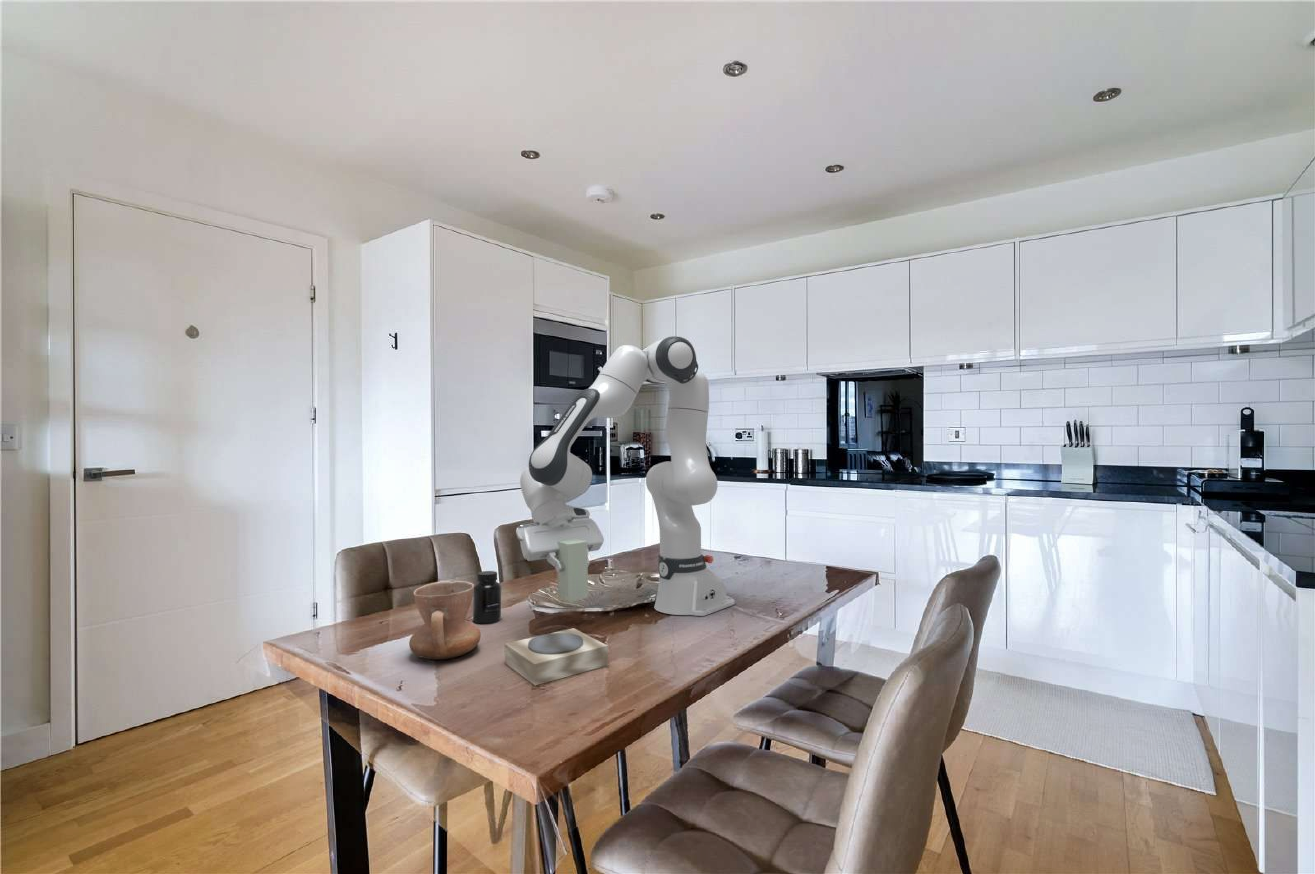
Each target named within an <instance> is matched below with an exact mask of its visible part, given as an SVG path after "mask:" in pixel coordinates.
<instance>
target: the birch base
mask: <svg viewBox="0 0 1315 874" xmlns="http://www.w3.org/2000/svg"><path fill="white" fill-rule="evenodd" d="M608 647H609V646H608V644H606V643H603V642H602V641H600V640H598V639H596V638H594V637H593V636H592V637H591V636H590V635H588V634H586V633H584V632H582V631H580V630H578V629H576V628H574V627H573V628H569V629H564V630H560V631H559V630H558V631H555V632H551V633H550V632H549V633H544V634H541V635H538V636H537V635H536V636H531V637H528V638H525V639H519V640H515V641H511V642H506V643H504V663H505V664H506V665H507V667H509V668H511V669H512V670H513V671H514V672H516V673H518V675H520V676H522V677H523V678H524V679H525V680H527V681H528V682H530V683H531V684H532V685H534V686H538V685H543V684H545V683H548V682H552V681H556V680H560V679H563V678H567V677H570V676H575V675H578V674H581V673H586V672H589V671H591V670H596V669H600V668H603V667H607V666H608V665H609V663H608V661H609V660H608V659H609V657H608V655H609V654H608V652H609V648H608Z"/></svg>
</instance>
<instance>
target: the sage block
mask: <svg viewBox="0 0 1315 874" xmlns="http://www.w3.org/2000/svg"><path fill="white" fill-rule="evenodd" d="M557 543H558V545H559V550H558V557H557V559H558V560H559V561H560V562H561V561H563V563H564V565H565V569H564V571H562V572H557V574H558V575H557V578H558V579H557V585H558V588H557V589H558V590H557V591H558V598H559V599H562V600H564V601H566V602H569V603H570V602H574V601H580V600H584V599H589V577H588V576H589V574H588V573H589V570H588V567H589V566H588V561H587V541H583V540H579V539H571V540H564V541H557Z"/></svg>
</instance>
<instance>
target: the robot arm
mask: <svg viewBox="0 0 1315 874" xmlns="http://www.w3.org/2000/svg"><path fill="white" fill-rule="evenodd" d="M645 382H646V383H650V384H661V383H665V386H666V387H667V389H668V390H667V391H668V404H667V411H666V420H665V430H664V438H665V441H666V443H667V445H668V448H669V451H670V452H669V453H670V461H663V462H659V463H657V464H655V465H653V466H652V467H650V468H649V470H648V471H647V473H646V476H645V477H646V478H645V485H646V489H647V490H648V492H649V493H650V495H651V497H652V500H653V504H654V508H655V511H656V517H657V520H658V527H659V555H658V561H657V562H658V563H657V564H658V566H657V567H658V574H659V576H658V579H659V580H658V585H657V587H658V588H657V593H656V598H655V604H654V607H653V608H654V609H655V611H657V612H660V613H663V614H668V615H674V616H698V617H699V616H700V617H703V616H708V615H710V614H712V613H715V612H718V611H720V610H723V609H726V608H729V607H731V606H733V605H735V604H736V602H735V599H734V598H732V597H730V596H729V595H727V589H726V585H725V582H724V581H723V580H722V578H720V577H719V576H718V575H716V574H715V573H714V572H713V571H711V570H710V569H709V568H707V564H706V563H708V564H712V563H713V562H714V557H713V556H712V555H708V554H706V555H703V554H702V527H701V524H700V522H699V520H698V519H697V517H696V515H695V512H694V509H693V506H700V505H703V504H707V503H709V502H711V501H712V500H713V499H714V497H715V495H716V494H717V492H718V491H717V490H718V478H717V476H716V474H715V472H714V471H713V470H712V467H711V465H710V461H709V457H708V449H707V431H708V430H707V429H708V419H709V410H710V407H709V406H710V394H709V393H710V389H709V386H710V385H709V381H708V377H707V376H706V375H705V374H704V373H702V372H700V371H699V364H698V361H697V354H696V351H695V348H694V346H693V344H692V343H691V341H689V340H688V339H686V338H684V337H681V336H677V335H676V336H675V335H674V336H668V337H666V338H661V339H659V340H657V341H654V342H653V343H651V344H649V345H647V346H645V347H644V348H642V349H640V348H639V347H636V346H635V345H629V344H623V345H620V346H619V347H618V348H616V349H615V351H614V352H613V353H612V354H611V356H610V357H609V358H608V360H606V362H605V364H604V365H603V367H602V369H601V370H600V372H599V374H598V376H597V377H596V379H595V380H594V382H593V383H592V384H591V385H590V386H589V387H588V388H585V389H583V390H582V391H580V392H579V393H578V394H577V395H576V397H575V398H573V400H572V401H571V403H570V404H569V406H567V408H566V409H565V410H564V413H563V414H562V415H561V416H560V418H559V419H558V421H556V423H555V425H554V426H553V427H552V429H551V430H550V432H549V433H548V434H547V435H546V436H545V438H544V439H543V440H542V441H541V442H539V443H538V445H537V446H536V447H535V448H534V449H533V450H532V452H531V454H530V456H529V459H528V466H527V467H526V468H524V470H523V471H522V473H521V474H520V479H519V484H520V489H521V492H522V493H521V494H522V496H523V499H524V502H525V505H526V506H527V508H528V509H529V510H530V513H531V518H532V521H533V522H531V523H528V524H527V523H525V524H524V523H523V524H520V525H519V526H517V528H516V529H515V534H516V536H517V537H516V538H517V539H518V540H519V544H520V549H521V550H520V551H521V553H522V556H523V559H524V560H527V561H528V562H533V561H538V560H545V559H546V560H547V562H548V563H549V564H550V565H552V566H553V567H554V568H555V571H556V572H557V573H558V572H562V571H564V569H565V565H564V563H563V561H561V562H560V561H559V560H558V550H559V545H558V543H557V541H564V540H571V539H579V540H583V541H587V561H588V567H589V566H590V565H591V564H590V560H589V553H590V552H596V551H599V550H600V548H601V547H602V546H603V545H604V544H603V543H604V542H605V539H604V535H603V533H602V531H601V530H600V528H599V526H598V524H597V523H596V521H595V520H594V519H592V518H590V517H591V516H590V515H591V513H590V511H589V509H587V508H582V507H577V506H572V505H570V504H567V503H569V502H572V501H573V500H575V499H577V498H579V497H580V496H582V495H583V494H585V493H586V492H587V491H588V490H589V488H590V487H591V485H592V481H593V470H592V467H591V466H590V465H589V464H588V463H586V462H585V461H584V460H582V459H581V458H579V457H578V456H576V455H575V454H573V453H571V447H572V445H573V444H574V443H575V441H576V439H577V438H578V437H579V435H580V433H581V432H582V431H583V429H584V428H585V426H586V425H587V424H588V423H589V422H590V421H591V420H593V419H596V418H605V419H614V418H619V417H621V416H623V415H625V414H626V413H627V412H628V411H629V409H630V408H631V407H632V405H633V404H634V401H635V399H636V398H637V395H638V393H639V391H640V389H641V387H642V385H643V384H644V383H645Z"/></svg>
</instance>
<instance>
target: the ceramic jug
mask: <svg viewBox="0 0 1315 874" xmlns="http://www.w3.org/2000/svg"><path fill="white" fill-rule="evenodd" d="M474 586H475V584H474V583H472V582H470V581H465V580H454V581H453V582H452V581H450V580H445V581H443V580H442V581H438V582H437V581H435V582H431V583H427V584H424V585H423V586H420V587H418V588H416V589H415V590H414V591H413V598H414V602H415V605H416V607H417V610H418V612H419V615H420V616H421V619H422V621H423V622H424V624H423V625H422V626H421V627H419V628H418V629H417V630H415V632H414V633H413V634H411V636H410V638H409V642H408V644H409V649H410V651H411V652H412V653H413V654H414V655H416V656H417V657H419V658H423V659H428V660H448V659H453V658H456V657H459V656H463V655H465V654H467V653H469V652H471V651H472V650H473V649H475V648H476V647H477V646H478V644H479V642H480V639H481V637H482V635H481V631H480V628H479V626H478V625H476V623H475V622H472V621H470V620H468V619H466V617H467V615H468V612H469V609H470V607H471V604H472V602H473V592H474Z"/></svg>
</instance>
